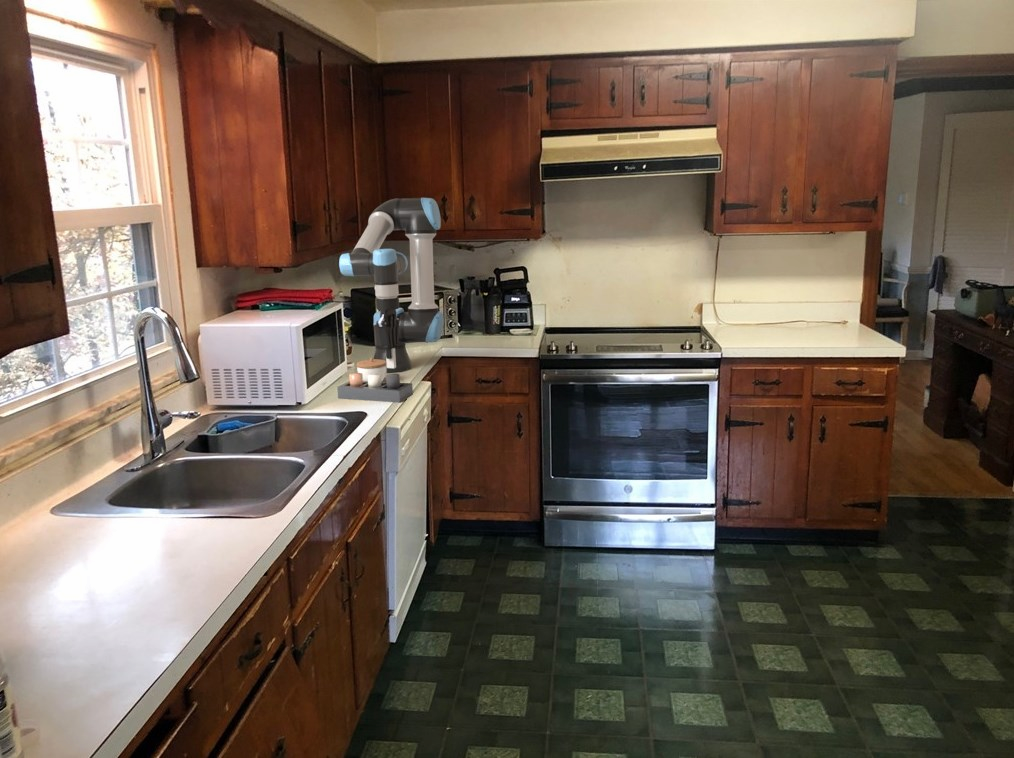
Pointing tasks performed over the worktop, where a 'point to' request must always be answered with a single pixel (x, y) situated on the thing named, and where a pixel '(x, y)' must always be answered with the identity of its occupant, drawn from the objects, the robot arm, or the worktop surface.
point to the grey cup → (393, 381)
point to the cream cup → (374, 380)
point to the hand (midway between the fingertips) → (391, 367)
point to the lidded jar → (372, 368)
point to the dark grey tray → (375, 392)
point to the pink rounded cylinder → (356, 379)
